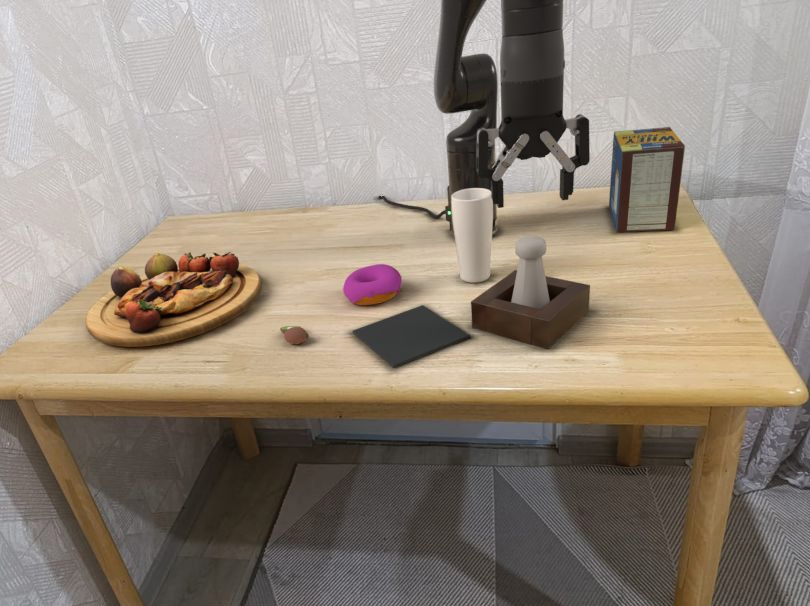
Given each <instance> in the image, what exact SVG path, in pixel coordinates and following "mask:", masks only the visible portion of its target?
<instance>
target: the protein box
mask: <svg viewBox="0 0 810 606" xmlns="http://www.w3.org/2000/svg"><path fill="white" fill-rule="evenodd" d="M685 152H686V145H685V143H683V142H682V140H681V138H679V136H678V135H677V134H676V133H675V131H674V130H673V129H672V128H671V126H664V127H653V128H652V127H651V128H641V129H628V130H617V131H616V130H615V131H613V139H612V152H611V154H612V155H611V169H610V170H611V171H610V181H609V182H610V184H609V199H608V208H609V211H610V215H611V218H612V223H613V226H614V230H615V233H631V232H655V231H656V232H657V231H675V229H676V224H677V223H676V222H677V221H676V220H677V213H678V207H679V200H680V199H679V198H680V191H681V183H682V177H683V176H682V174H683V166H684V158H685Z"/></svg>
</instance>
